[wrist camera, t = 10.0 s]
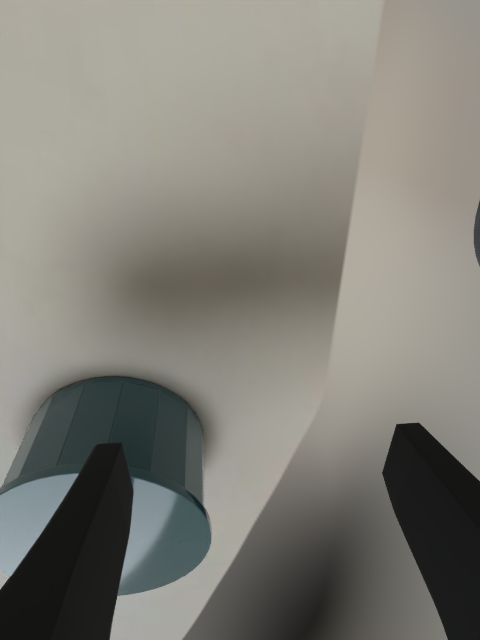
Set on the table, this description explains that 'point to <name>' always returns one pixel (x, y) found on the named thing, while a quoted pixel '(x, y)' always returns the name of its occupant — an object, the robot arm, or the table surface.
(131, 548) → the lid
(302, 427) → the table surface
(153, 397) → the tin
